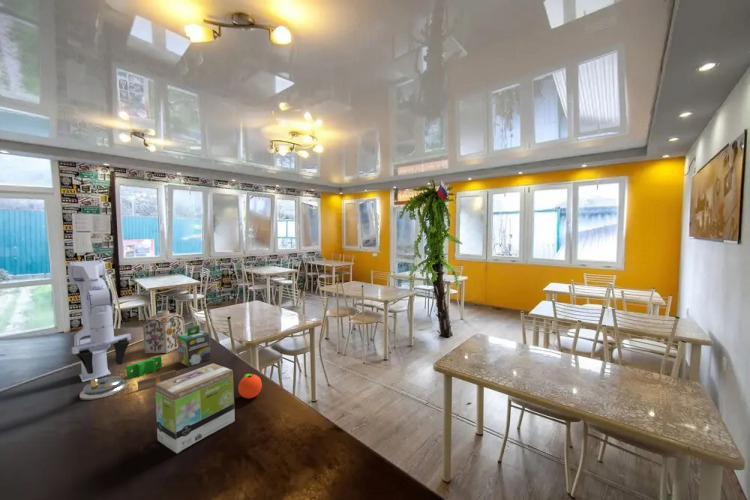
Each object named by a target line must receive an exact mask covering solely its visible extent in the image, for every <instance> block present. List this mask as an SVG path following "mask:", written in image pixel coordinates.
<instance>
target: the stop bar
mask: <svg viewBox="0 0 750 500" xmlns="http://www.w3.org/2000/svg"><path fill="white" fill-rule="evenodd" d="M176 371H177V370H176V369H173V370H170V371H167V372H162V373H160V374H158V375H155V376H153V375H152V376H151V377H148V378H144V379H141V380H138V381H137V391H139V392H140V391H143V390H147V389H150V388H152V387H153V388H154V387H155V385H156V384H158V383H160V382H163V381H166V380H169V379H171V378H174V377H177V372H176Z"/></svg>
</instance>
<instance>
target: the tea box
mask: <svg viewBox="0 0 750 500" xmlns="http://www.w3.org/2000/svg"><path fill="white" fill-rule="evenodd" d="M154 387H155V388H154V389H155V390H154V391H155V392H154V393H155V413H156V415H155V416H156V430H157V431H156V433H157V435H156V436H157V441H158V442H160V443H161V444H162V445H164V446H165V447H166V448H168V449H169V450H170V451H172V452H173V453H176V454H179V453H181V452H183V450H185V449H187V448H189V447H191V446H192V445H193V444H194V445H195V444H197V442H199V441H201V440H202V439H205V438H207V437H208V436H210V435H212V434H214V433H216V432H218V431H220V430H222V429H223V428H225V427H227V426H228V425H230V424H232V423H234V422H235V421H236V419H235V398H234V397H235V396H234V395H235V394H234V393H235V391H234V372H233V369H230V368H229V367H226V366H221V365H219V364H216V363H210V364H207V365H205V366H202V367H199V368H197V369H194V370H191V371H188V372H185V373H183V374H180V375H176V377H174V378H171V379H169V380H166V381H163V382H160V383H158V384H156V385H155V386H154Z"/></svg>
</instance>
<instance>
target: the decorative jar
mask: <svg viewBox="0 0 750 500" xmlns="http://www.w3.org/2000/svg"><path fill="white" fill-rule="evenodd" d="M185 327H186V325H185V319H184V317H183V316H182V315H181V314H179V313H177V312H170V310H168V309H166V310H164V309H163V310H159V311H157V312H156V314H155V315H151V316H149V317H148V318H147V319H146V320H145V321H144V323H143V324H142V328H143V329H142V330H143V344H144V345H143V346H144V353H145V354H159V353H167V354H169V353H171V352H174V351H175V349H176V350H177V349H178V341H177V336H179V335H182V334H185V333H186V329H185ZM170 351H171V352H170ZM168 352H169V353H168Z"/></svg>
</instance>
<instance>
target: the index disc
mask: <svg viewBox="0 0 750 500" xmlns="http://www.w3.org/2000/svg"><path fill="white" fill-rule="evenodd" d="M123 380H124V379H123V376H121V375H114V376H113V375H112V376H105V377H101V378H95V379H92V380H90V382H88V383H87V384H86V385H84V386H83V388H82V391H83V390H84V394H87V395H91V394H98V393H103V392H106V391H109V390H112V389H114V388H116V387H118V386H120V385H121V384H122V383H123Z"/></svg>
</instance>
